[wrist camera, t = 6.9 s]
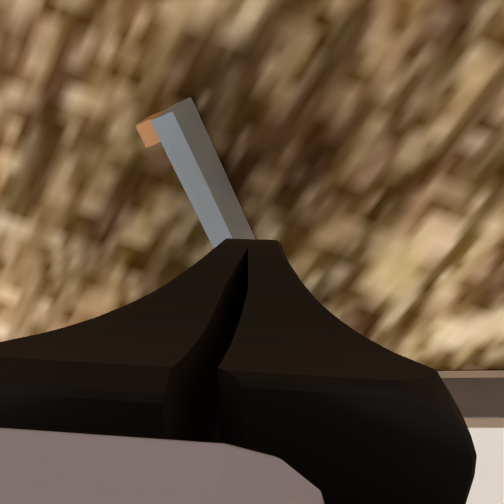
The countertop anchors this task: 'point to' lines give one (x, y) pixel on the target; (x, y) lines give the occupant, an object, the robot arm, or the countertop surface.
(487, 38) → the countertop surface
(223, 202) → the side door
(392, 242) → the countertop surface
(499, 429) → the white box with knob
